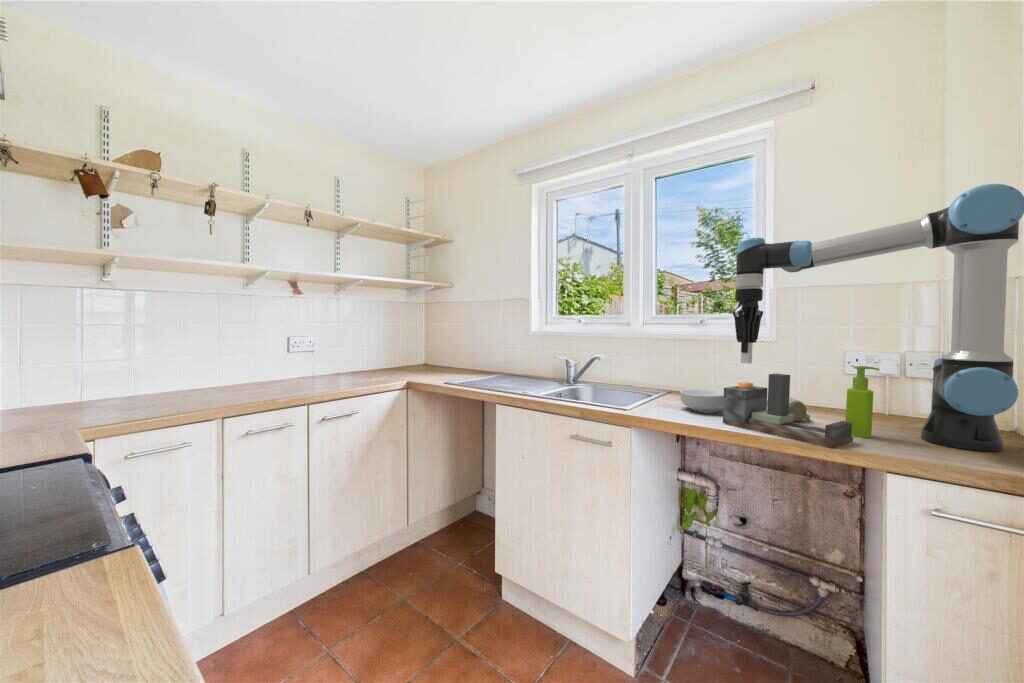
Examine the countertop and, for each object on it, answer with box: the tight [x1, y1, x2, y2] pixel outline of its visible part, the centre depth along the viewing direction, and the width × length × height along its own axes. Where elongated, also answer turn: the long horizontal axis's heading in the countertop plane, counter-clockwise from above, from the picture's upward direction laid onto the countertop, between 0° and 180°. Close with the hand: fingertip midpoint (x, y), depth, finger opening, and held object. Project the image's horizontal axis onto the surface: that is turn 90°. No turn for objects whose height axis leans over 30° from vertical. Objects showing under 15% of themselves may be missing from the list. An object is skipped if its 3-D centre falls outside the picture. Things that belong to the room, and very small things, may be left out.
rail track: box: [722, 385, 854, 449], centre depth 124 cm, size 30×12×12 cm, turn 30°
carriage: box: [752, 373, 795, 425], centre depth 126 cm, size 8×8×14 cm
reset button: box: [738, 381, 754, 390], centre depth 134 cm, size 4×4×3 cm
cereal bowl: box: [679, 388, 724, 414], centre depth 153 cm, size 17×17×7 cm
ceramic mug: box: [789, 396, 811, 422], centre depth 140 cm, size 11×8×8 cm
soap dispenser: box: [845, 365, 880, 439], centre depth 120 cm, size 6×7×20 cm
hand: (746, 363), depth 133 cm, fingers closed
